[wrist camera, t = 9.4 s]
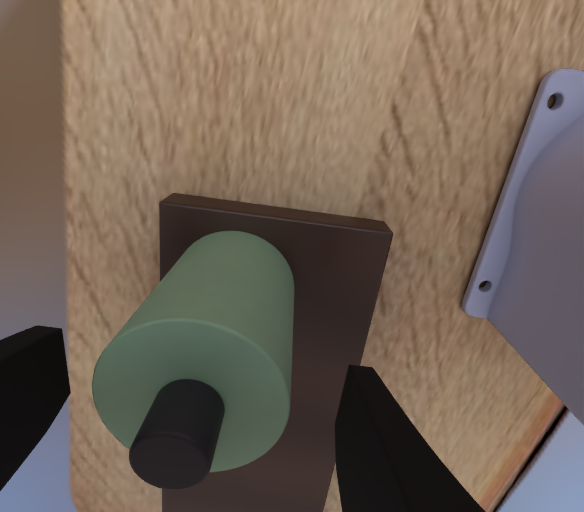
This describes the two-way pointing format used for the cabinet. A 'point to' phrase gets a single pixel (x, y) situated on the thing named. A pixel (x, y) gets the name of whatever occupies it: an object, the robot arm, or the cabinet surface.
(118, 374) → the sanitizer bottle
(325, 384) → the walnut board
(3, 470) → the robot arm
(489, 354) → the cabinet surface
